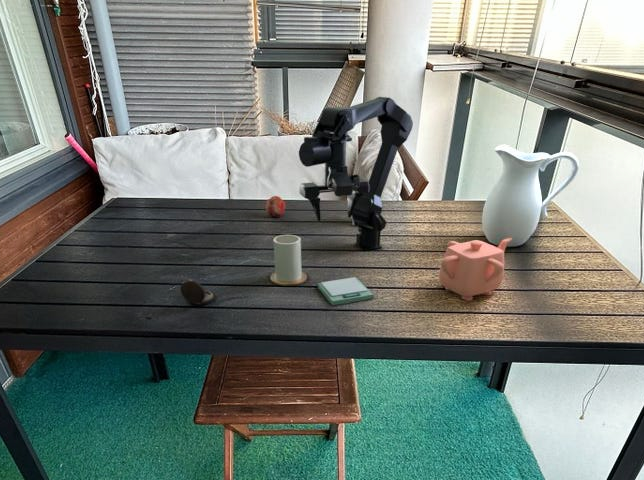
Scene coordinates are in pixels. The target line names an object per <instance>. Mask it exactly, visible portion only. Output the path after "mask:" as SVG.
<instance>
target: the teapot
mask: <svg viewBox="0 0 644 480" xmlns="http://www.w3.org/2000/svg"><path fill="white" fill-rule="evenodd" d="M511 240H512V238H506V239H504V240H503V241H502V242H501V243H500V244H499V245H497V246H495V245H492V244H491V243H487V242H485V241H483V240H479V239H473V240H470V241H465V242H458V241H456V240H455V241H454V240H451V241H448V243H447V245H446V246H447V249H446V251H445V253H444V256H443V258H442V259H441V262H440V267H439V273H438V279H439V283H440V284H441V285H443V286H444V287H445V290H447V291H452V292H454V293H456V294H458V295H460V296H461V299H462V300H464V301H472V300H473V298H474V297H473V296H477V295H484V296H491V295H492V291H494V290H497V289H499V287H500V286H501V284H502V283H503V280H504V275H505V251H506V248H507V247H508V246H507V244H508V243H509V242H510V241H511Z"/></svg>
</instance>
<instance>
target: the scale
mask: <svg viewBox="0 0 644 480" xmlns="http://www.w3.org/2000/svg"><path fill="white" fill-rule="evenodd" d="M317 289H318V290H319V291H320V292H321V293H322V294H323V296H324V298H326V299H327V301H328V302H329V303H330V304H331V306H338V305H344V304H349V303H356V302H361V301H368V300H373V299H374V294H373V292H372V291H370V289H368V288H367V287H366V285H364V283H362V282H361V280H360V279H358V277H354V276H353V277H347V278H341V279H340V278H339V279H335V280H329V281H321V282H319V283H317Z"/></svg>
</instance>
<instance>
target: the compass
mask: <svg viewBox="0 0 644 480" xmlns="http://www.w3.org/2000/svg"><path fill="white" fill-rule="evenodd" d="M180 293H181V295H182V297H183V298H184V299H185V300H187V301H188V302H190V303H191V304H193V305H197V306H198V305H199V306H201V305H202V306H203V305H207V304H210V303H212V302H213V301H214V300H215V294H214V293H213V292H211V291H209V290H205V287H204V286H203V285H202V284H201V283H200V282H198V281H196V280H194V279H193V278H191V279H187V280H185V281H183V282H182V284H181V285H180Z"/></svg>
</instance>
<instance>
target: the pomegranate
mask: <svg viewBox="0 0 644 480" xmlns="http://www.w3.org/2000/svg"><path fill="white" fill-rule="evenodd" d="M265 210H266V212H267V214H268V215H269V216H271V217H275V218H280V217H281V216H283V215H284V212H285V210H286V202H285V201H284V200H283V199H282V198H281V197H280V196H279V195H273V196H270V198H268V199H267V200H266V203H265Z"/></svg>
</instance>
